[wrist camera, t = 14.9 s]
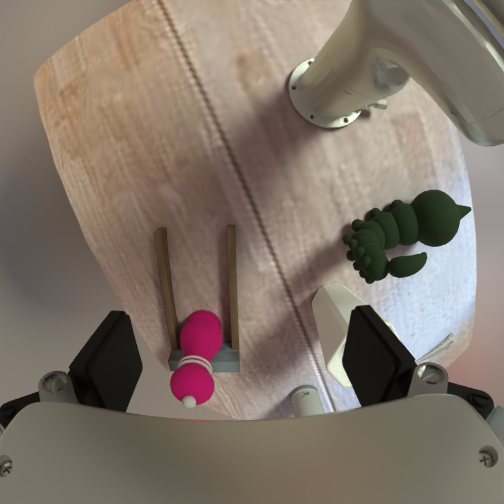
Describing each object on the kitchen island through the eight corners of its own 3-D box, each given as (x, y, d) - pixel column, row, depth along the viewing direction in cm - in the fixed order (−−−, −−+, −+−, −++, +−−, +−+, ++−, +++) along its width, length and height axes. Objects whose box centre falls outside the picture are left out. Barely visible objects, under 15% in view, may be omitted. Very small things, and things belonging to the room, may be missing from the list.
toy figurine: (340, 261, 47) (448, 222, 44) (378, 317, 30) (511, 253, 26) (327, 212, 45) (441, 177, 41) (366, 246, 27) (510, 192, 23)
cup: (365, 303, 48) (408, 356, 32) (323, 335, 50) (351, 396, 34) (337, 261, 46) (382, 307, 29) (291, 296, 47) (314, 357, 31)
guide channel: (234, 225, 43) (234, 234, 37) (239, 351, 50) (239, 372, 44) (158, 227, 42) (147, 236, 37) (176, 351, 50) (170, 370, 44)
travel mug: (298, 381, 53) (318, 456, 34) (322, 388, 54) (346, 458, 35) (283, 398, 55) (296, 471, 36) (307, 404, 56) (325, 473, 37)
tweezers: (451, 330, 53) (455, 334, 52) (451, 342, 55) (454, 346, 53) (396, 362, 56) (398, 367, 54) (397, 373, 58) (400, 378, 56)
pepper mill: (206, 346, 50) (194, 429, 30) (176, 324, 48) (149, 403, 29) (232, 324, 48) (229, 408, 29) (201, 299, 47) (181, 378, 27)
